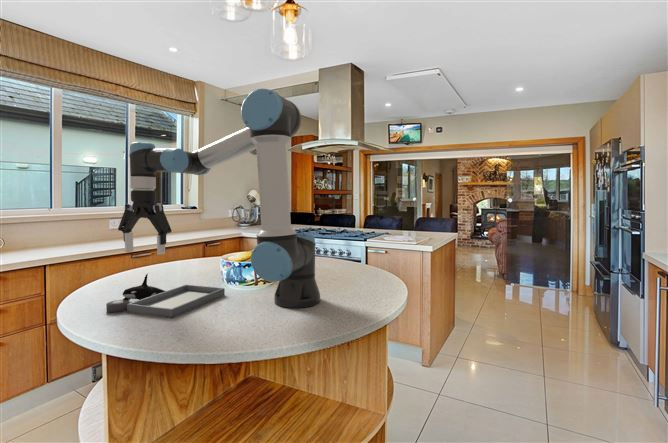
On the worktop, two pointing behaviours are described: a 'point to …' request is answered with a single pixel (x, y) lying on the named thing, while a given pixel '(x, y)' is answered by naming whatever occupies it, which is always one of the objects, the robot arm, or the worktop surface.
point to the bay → (175, 301)
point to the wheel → (117, 306)
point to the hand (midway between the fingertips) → (144, 253)
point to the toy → (141, 291)
